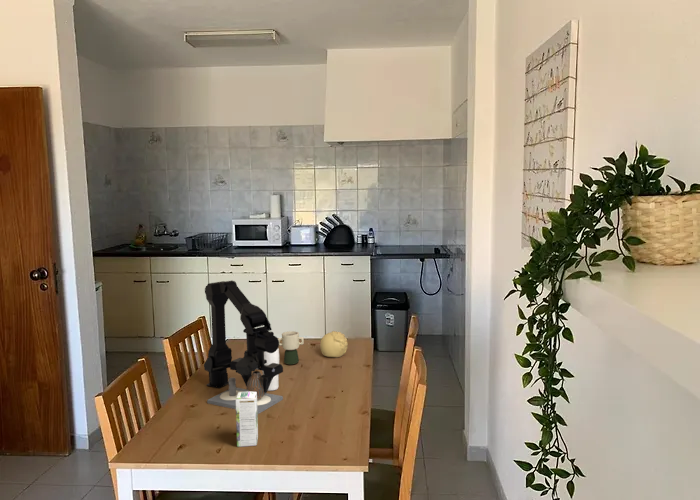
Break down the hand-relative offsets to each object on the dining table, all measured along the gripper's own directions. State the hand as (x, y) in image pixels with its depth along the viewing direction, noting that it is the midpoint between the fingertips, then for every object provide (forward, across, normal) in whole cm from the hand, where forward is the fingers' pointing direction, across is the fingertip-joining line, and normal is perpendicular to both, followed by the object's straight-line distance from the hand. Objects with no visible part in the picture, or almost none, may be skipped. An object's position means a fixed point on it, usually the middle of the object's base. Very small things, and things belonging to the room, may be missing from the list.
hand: (257, 390), depth 197 cm
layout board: (+5, -5, 0) cm, 7 cm away
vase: (+2, 0, 0) cm, 2 cm away
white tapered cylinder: (+5, -4, +14) cm, 15 cm away
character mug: (+5, -14, +42) cm, 45 cm away
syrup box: (+5, +16, -25) cm, 30 cm away
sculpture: (+5, -3, +59) cm, 59 cm away
